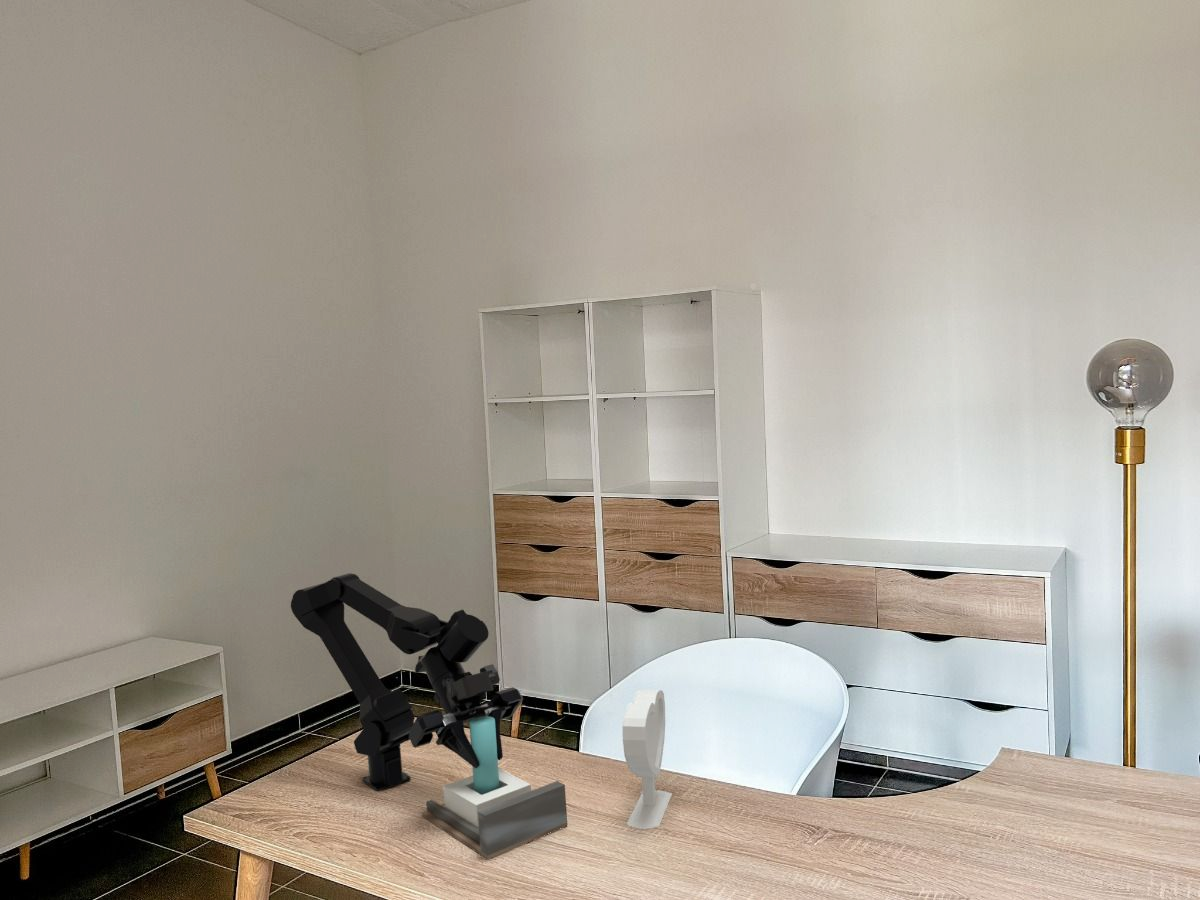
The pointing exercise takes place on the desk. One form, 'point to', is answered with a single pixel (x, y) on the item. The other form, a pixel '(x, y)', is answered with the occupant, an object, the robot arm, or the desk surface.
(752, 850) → the desk surface
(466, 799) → the socket block
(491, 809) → the rail board
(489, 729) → the dowel
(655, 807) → the heart sculpture
